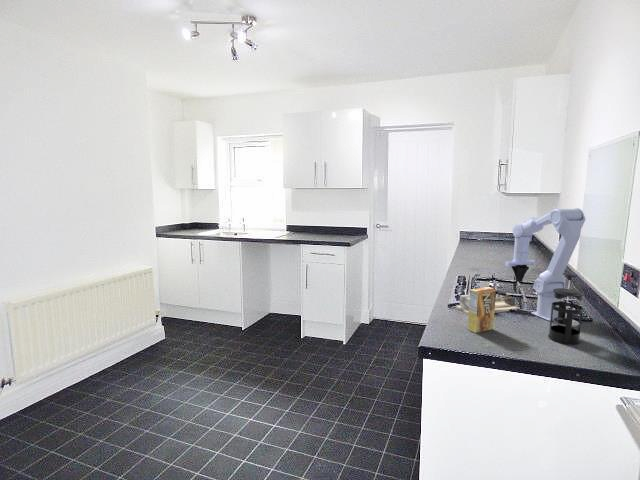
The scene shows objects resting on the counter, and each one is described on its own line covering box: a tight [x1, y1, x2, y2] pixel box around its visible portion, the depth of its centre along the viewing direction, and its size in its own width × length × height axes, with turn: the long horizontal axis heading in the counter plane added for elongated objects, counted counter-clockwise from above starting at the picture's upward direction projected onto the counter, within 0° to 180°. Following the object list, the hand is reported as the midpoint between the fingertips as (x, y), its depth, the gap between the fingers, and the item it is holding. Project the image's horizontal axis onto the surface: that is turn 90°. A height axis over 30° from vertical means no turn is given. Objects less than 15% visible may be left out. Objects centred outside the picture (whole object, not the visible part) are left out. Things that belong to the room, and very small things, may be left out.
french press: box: [547, 272, 585, 346], centre depth 136 cm, size 12×9×23 cm
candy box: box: [467, 286, 497, 334], centre depth 145 cm, size 9×4×15 cm, turn 116°
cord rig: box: [455, 294, 521, 315], centre depth 169 cm, size 10×24×6 cm, turn 106°
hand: (518, 281), depth 177 cm, fingers closed
